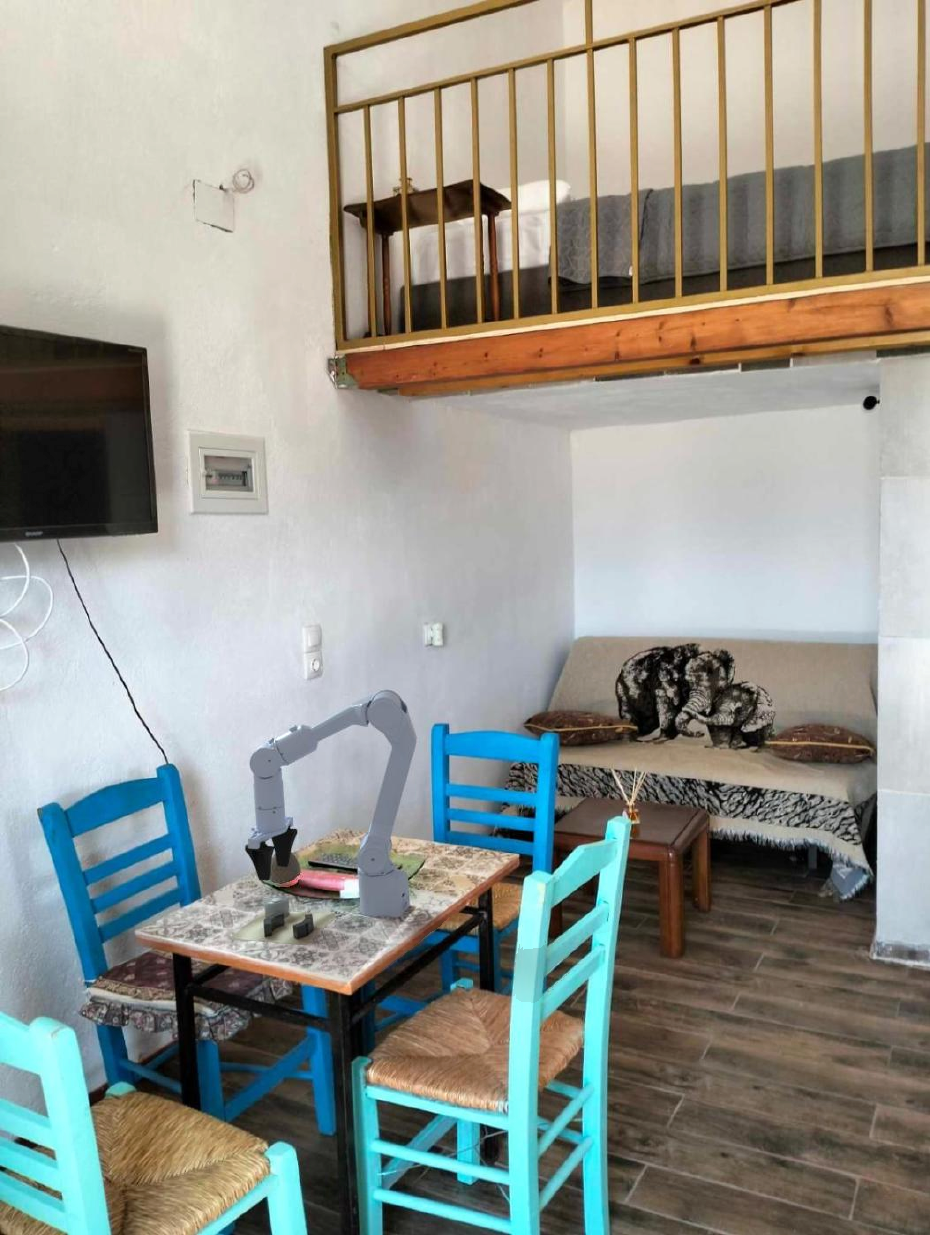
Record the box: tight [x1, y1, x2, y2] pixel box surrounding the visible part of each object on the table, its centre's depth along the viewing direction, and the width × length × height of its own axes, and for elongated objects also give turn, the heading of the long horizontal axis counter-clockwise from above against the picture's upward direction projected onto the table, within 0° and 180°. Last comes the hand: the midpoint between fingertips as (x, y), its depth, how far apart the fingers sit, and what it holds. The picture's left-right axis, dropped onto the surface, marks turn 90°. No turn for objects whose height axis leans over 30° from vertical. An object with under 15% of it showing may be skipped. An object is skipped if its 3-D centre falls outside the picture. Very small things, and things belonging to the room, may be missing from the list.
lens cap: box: [263, 895, 291, 918], centre depth 196 cm, size 5×5×3 cm
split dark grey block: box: [263, 912, 314, 940], centre depth 188 cm, size 9×6×2 cm
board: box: [228, 910, 339, 946], centre depth 191 cm, size 16×14×1 cm
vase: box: [269, 851, 302, 884], centre depth 214 cm, size 7×7×9 cm
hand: (273, 872), depth 196 cm, fingers open, 7 cm apart
